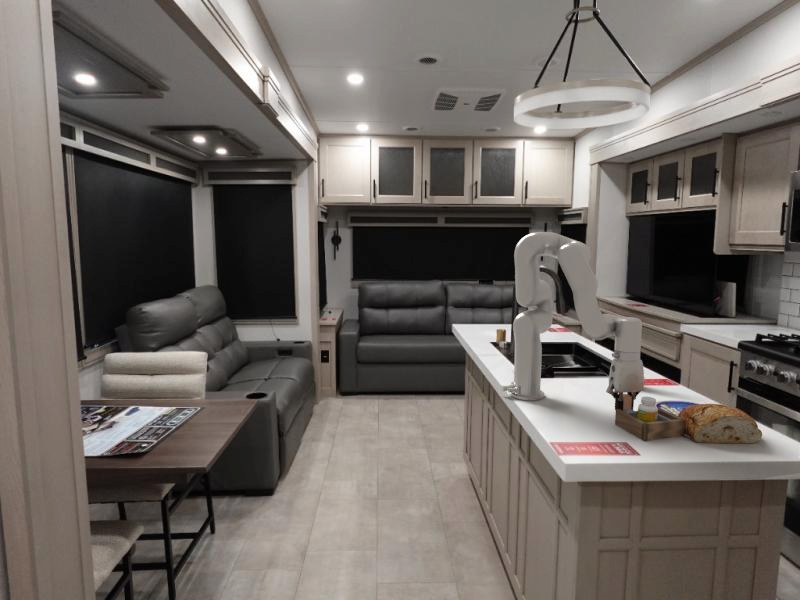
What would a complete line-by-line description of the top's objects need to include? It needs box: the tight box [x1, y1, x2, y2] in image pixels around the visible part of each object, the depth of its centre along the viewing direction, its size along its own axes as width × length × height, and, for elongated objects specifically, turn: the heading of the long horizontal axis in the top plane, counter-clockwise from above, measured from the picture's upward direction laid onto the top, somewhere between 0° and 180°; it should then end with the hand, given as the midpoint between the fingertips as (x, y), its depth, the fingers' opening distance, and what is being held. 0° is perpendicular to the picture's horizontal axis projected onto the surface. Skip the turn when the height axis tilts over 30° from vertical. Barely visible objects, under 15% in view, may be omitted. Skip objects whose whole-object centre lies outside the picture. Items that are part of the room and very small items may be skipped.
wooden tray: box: [614, 406, 686, 442], centre depth 149 cm, size 14×13×5 cm
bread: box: [677, 403, 763, 444], centre depth 147 cm, size 20×18×10 cm
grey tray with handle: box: [618, 393, 671, 421], centre depth 153 cm, size 11×18×7 cm, turn 13°
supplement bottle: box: [637, 396, 659, 423], centre depth 149 cm, size 5×5×10 cm
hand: (623, 410), depth 160 cm, fingers closed on grey tray with handle, 3 cm apart
